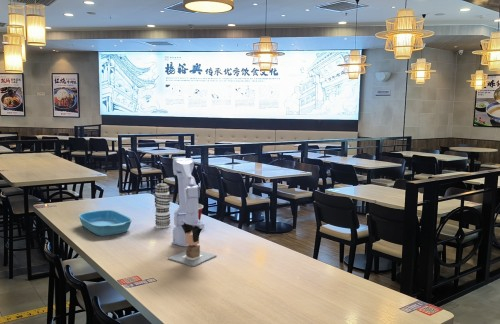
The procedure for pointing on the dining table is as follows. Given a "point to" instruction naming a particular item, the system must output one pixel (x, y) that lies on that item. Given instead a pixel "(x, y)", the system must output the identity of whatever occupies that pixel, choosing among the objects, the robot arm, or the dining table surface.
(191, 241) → the terracotta block
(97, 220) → the casserole dish
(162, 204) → the white striped cylinder
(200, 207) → the plastic cup
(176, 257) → the board
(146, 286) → the dining table surface
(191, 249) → the walnut block
